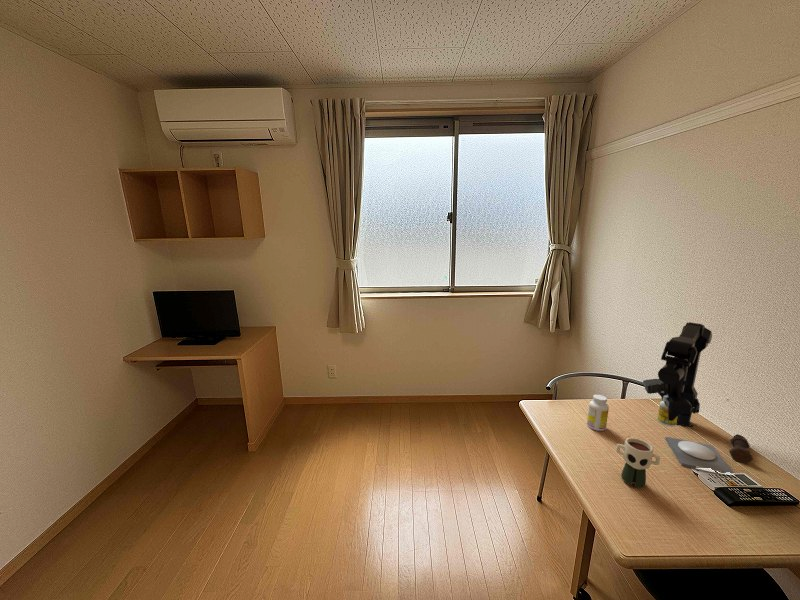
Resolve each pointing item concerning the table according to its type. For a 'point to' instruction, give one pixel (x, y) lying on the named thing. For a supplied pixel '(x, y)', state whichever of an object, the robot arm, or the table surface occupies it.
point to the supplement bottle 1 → (598, 413)
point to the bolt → (740, 450)
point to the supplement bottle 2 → (665, 414)
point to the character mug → (636, 460)
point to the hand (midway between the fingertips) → (667, 416)
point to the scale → (697, 455)
